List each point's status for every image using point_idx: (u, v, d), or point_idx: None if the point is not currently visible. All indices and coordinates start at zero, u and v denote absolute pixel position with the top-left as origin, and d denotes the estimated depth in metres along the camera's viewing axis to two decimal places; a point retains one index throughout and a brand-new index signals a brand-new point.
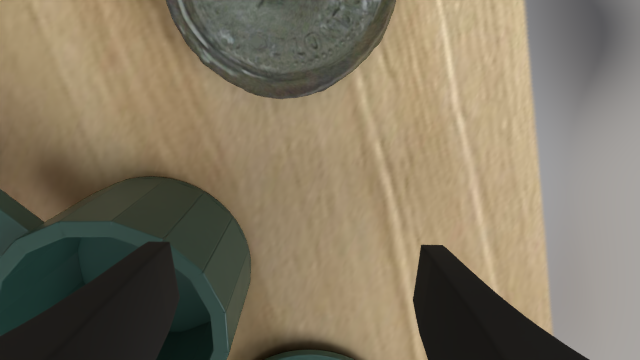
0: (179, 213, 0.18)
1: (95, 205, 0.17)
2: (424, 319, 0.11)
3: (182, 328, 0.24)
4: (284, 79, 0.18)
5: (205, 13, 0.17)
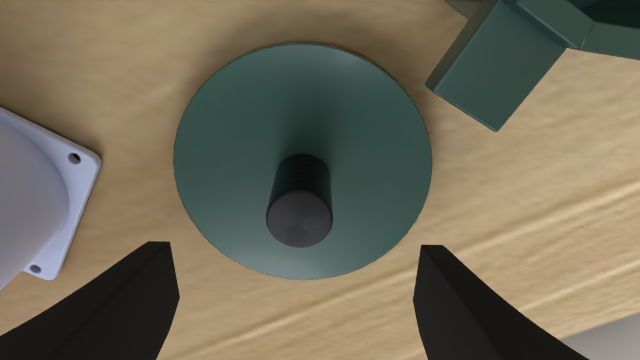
0: None
1: None
2: (423, 319, 0.11)
3: None
4: None
5: None
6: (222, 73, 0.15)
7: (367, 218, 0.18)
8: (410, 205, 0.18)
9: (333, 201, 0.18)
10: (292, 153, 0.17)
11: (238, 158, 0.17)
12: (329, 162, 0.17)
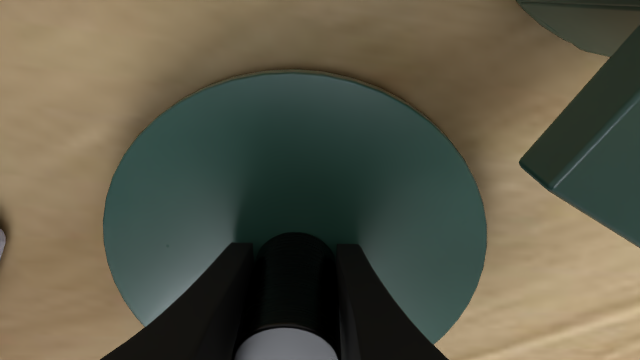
0: None
1: None
2: None
3: None
4: None
5: None
6: (168, 118, 0.10)
7: None
8: (451, 300, 0.12)
9: None
10: (279, 231, 0.11)
11: (199, 238, 0.11)
12: (334, 244, 0.11)
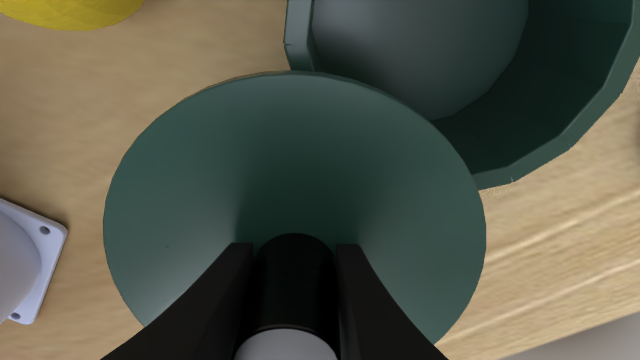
0: None
1: None
2: None
3: (326, 67, 0.17)
4: None
5: None
6: (168, 119, 0.10)
7: None
8: (450, 300, 0.12)
9: None
10: (279, 232, 0.11)
11: (199, 238, 0.11)
12: (334, 245, 0.11)
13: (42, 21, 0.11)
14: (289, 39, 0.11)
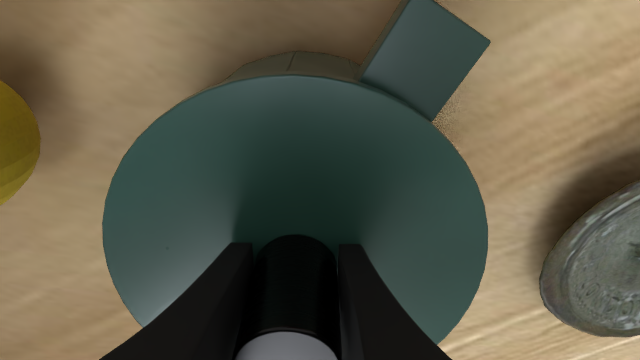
0: None
1: None
2: None
3: None
4: (561, 282, 0.18)
5: (636, 211, 0.16)
6: (168, 119, 0.10)
7: None
8: (452, 302, 0.12)
9: None
10: (280, 233, 0.11)
11: (199, 240, 0.11)
12: (334, 246, 0.11)
13: None
14: None
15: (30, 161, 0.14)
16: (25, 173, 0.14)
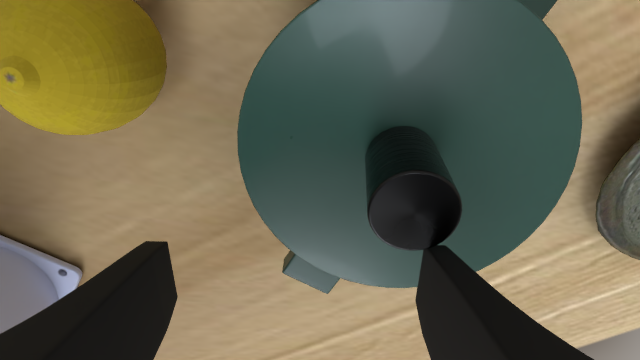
0: None
1: None
2: (426, 319, 0.11)
3: None
4: (617, 204, 0.20)
5: None
6: (309, 14, 0.11)
7: (479, 214, 0.14)
8: (540, 199, 0.13)
9: None
10: (391, 125, 0.13)
11: (319, 130, 0.13)
12: (438, 139, 0.13)
13: (73, 134, 0.14)
14: None
15: (163, 78, 0.16)
16: (160, 88, 0.16)
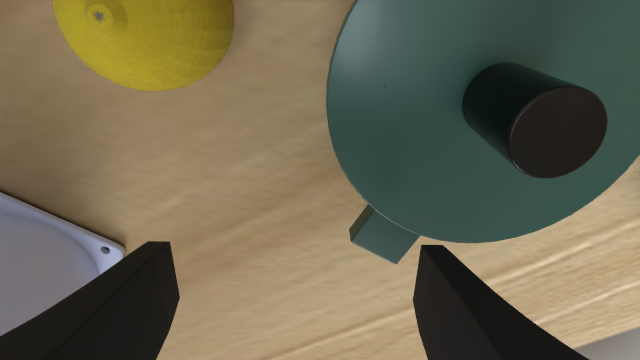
0: None
1: None
2: (424, 319, 0.11)
3: None
4: None
5: None
6: None
7: None
8: (638, 131, 0.13)
9: None
10: (490, 63, 0.12)
11: (415, 75, 0.12)
12: None
13: (146, 88, 0.13)
14: None
15: (231, 36, 0.15)
16: (228, 46, 0.15)
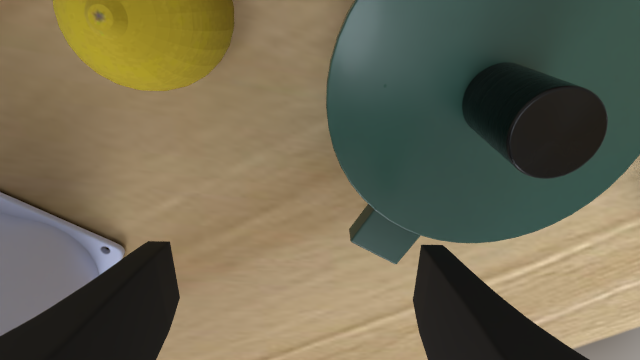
0: None
1: None
2: (424, 319, 0.11)
3: None
4: None
5: None
6: None
7: None
8: (638, 131, 0.13)
9: None
10: (490, 63, 0.12)
11: (415, 75, 0.12)
12: None
13: (146, 88, 0.13)
14: None
15: (231, 36, 0.15)
16: (228, 46, 0.15)
